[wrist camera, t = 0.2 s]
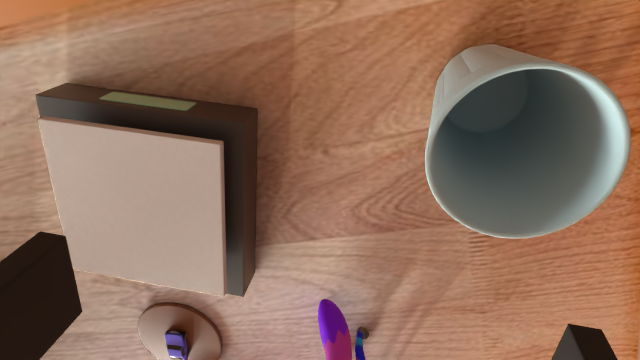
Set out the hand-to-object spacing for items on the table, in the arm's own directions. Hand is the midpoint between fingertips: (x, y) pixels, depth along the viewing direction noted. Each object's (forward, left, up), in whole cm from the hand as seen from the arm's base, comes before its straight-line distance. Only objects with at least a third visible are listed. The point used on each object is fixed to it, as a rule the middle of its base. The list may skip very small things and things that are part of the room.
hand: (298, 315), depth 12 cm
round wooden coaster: (+24, -14, -19) cm, 34 cm away
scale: (+8, -14, -19) cm, 25 cm away
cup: (-2, +7, -19) cm, 21 cm away
